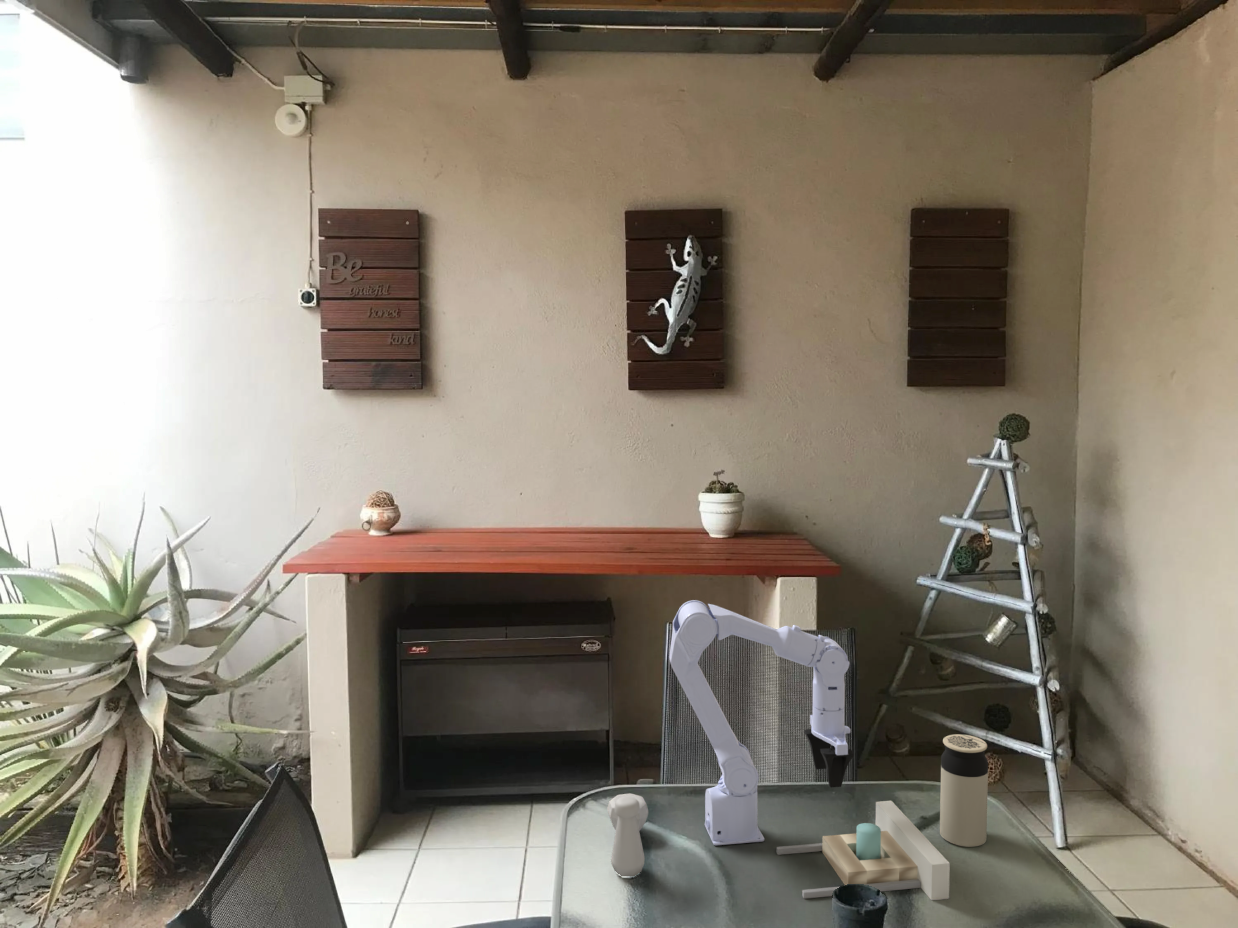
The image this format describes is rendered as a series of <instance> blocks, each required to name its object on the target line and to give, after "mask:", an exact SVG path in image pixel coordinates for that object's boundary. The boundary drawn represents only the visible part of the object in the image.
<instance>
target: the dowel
mask: <svg viewBox="0 0 1238 928" xmlns="http://www.w3.org/2000/svg"><path fill="white" fill-rule="evenodd" d="M856 833H857V835H856V857H857V858H858V860H859V861H860V860H872V859H880V856H881V829H880V828H879V827H878V826H877V825H876V824H875V823H870V822H864V823H859V824H857V825H856Z"/></svg>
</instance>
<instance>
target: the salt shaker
mask: <svg viewBox="0 0 1238 928" xmlns="http://www.w3.org/2000/svg"><path fill="white" fill-rule="evenodd" d="M639 810H640V805H639V801H638V800H637V799H636V798H633V797H628V796H627V797H621V798H619V799H618V800H617V801H616V802H615V813H616V815H617V816H618V820H617V826H616V830H615V833H614V841H613V845H612V852H611V859H610V863H611V865H612V868H613V870H614V872H615V871H616V872H617V873H618V874H620V875H621V876H635V875H637V874H638V873H640V872H641V873H642V871H643V868H644V865H645V860H646V859H645V853H644V849H643V843H642V838H641V834H640V833H641V832H640V831H639V828H638V823H637V817H636V816H637V815H638V814H639ZM641 873H640V874H641Z"/></svg>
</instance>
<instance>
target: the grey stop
mask: <svg viewBox="0 0 1238 928" xmlns="http://www.w3.org/2000/svg"><path fill="white" fill-rule="evenodd" d="M875 825H877V826H878V827H879V828H880V829H881V831H888V832H889V834H890V835H891V836H892V837H893V838H894V839H895V841H896V842H897V843H898V844H899V845H900V846H901V848H902V849H903V850H904V851H905V852H906V853H907V855H908V856H909V857H910V858H911V859H912V860H913V861H914V863H915V864H916V865H917V866H918V867H917V879H916V880H905V881H894V882H883V883H873V884H864V885H869V886H872V887H875V888H877V889H879V890H880V892H888V891H898V890H899V891H901V890H908V889H909V890H910V889H918V888H919V889H921V890H922V891H923V893H925V895H926V896H927V897H928V898H929V899H930V900H931V901H937V900H939V901H940V900H947V899H948V900H949V899H950V866H951V863H950V862H949V861H948V859H946V857H945V856H944V855H943V854H942V853H941V852H940V851H939V850H938V849H937V848H936V847H935V846H934V844H933V843H931V842H930V840H929V839H928V838H927V837H926V836H925V835H924V834H923V833H922V832H921V831H920V830H919V828H917V826H915V824H914V823H913V822H912V821H911V820H910V819H909V817H907V816H906V815H905V813H903V812H902V810H901V809H899V807H898V806H897V805H896V804H895V803H894V802H893V800H883V801H881V800H880V801H875ZM811 852H812V853H814V852H822V842H819V843H809V844H797V845H784V846H783V845H782V846H776V854H777V855H778V856H780V855H789V854H791V855H792V854H802V853H811ZM839 887H840V886H833V887H831V886H829V887H822V888H821V887H819V888H808V889H801V892H802V893H801V894H802V895H801V896H802V898H803V899H805V900H806V899H814V898H815V899H816V898H824V897H833V896H832V893H833V891H834V890H835V889H837V888H839Z"/></svg>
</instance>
